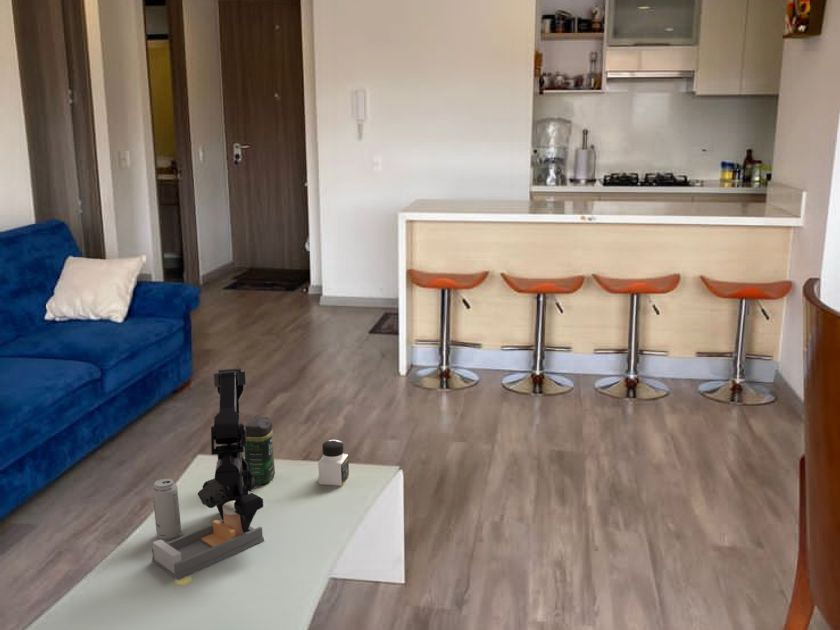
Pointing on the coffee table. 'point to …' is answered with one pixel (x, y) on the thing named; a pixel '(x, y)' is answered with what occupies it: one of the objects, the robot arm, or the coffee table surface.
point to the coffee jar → (260, 449)
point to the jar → (232, 518)
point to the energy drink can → (166, 509)
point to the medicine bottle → (333, 464)
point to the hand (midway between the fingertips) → (234, 525)
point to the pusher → (219, 534)
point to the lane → (199, 550)
